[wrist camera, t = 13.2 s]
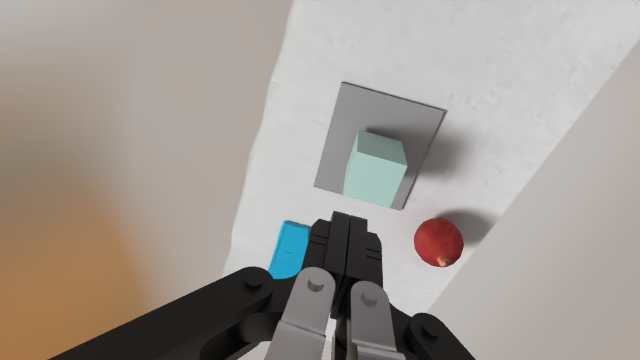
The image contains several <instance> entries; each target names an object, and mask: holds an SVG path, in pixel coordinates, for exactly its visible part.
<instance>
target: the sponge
mask: <svg viewBox="0 0 640 360" xmlns="http://www.w3.org/2000/svg"><path fill="white" fill-rule="evenodd" d="M309 234H310V233H309V226H307V225H301V224H298V223H294V222H291V221H284V222H283V224H282V226H281V229H280V233H279V237H278V240H277V245H276V249H275V251H274V254H273V257H272V261H271V264H270V267H269V270H268V272H269V273H270V274H271V275H272V277H273V279H285V278H289V277H292V276H294V275H296V274H297V273H298V272H299V271H300V269H301V267H302V263H303V259H304V255H305V251H306V248H307V244H308V240H309Z"/></svg>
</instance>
